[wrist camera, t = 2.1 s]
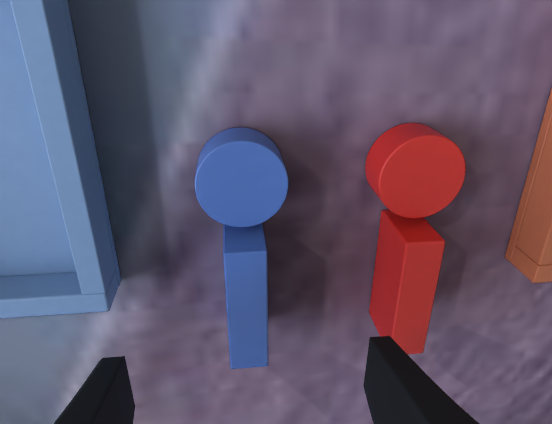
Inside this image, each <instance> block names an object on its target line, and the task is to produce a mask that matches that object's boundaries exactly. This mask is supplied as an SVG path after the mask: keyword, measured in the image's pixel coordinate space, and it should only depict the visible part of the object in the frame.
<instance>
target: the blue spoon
mask: <svg viewBox="0 0 552 424" xmlns="http://www.w3.org/2000/svg"><path fill="white" fill-rule="evenodd" d="M288 185H289V182H288V174H287V171H286V168H285V165H284V162H283V160H282V157H281V154H280V152H279V150H278V148H277V146H276V145H275V144H274V142H273V141H272V140H271V139H270V138H268V137H267V136H266V135H264V134H263V133H261V132H259V131H257V130H253V129H250V128H240V127H239V128H231V129H227V130H224V131H222V132H220V133H218V134H216V135H215V136H213V137H212V138H211V139H210V140H209V141H208V142H207V143H206V144H205V145H204V147H203V149H202V150H201V153H200V155H199V159H198V164H197V170H196V176H195V192H196V196H197V199H198V201H199V203H200V205H201V207H202V208H203V209H204V211H205V212H206V213H207V214H208V215H209V216H210V217H212V218H213V219H215V220H216V221H218V222H220V223H222V224H223V257H224V273H225V289H226V305H227V321H228V337H229V353H230V368H231V369H239V368H251V367H263V366H268V281H267V248H266V242H265V236H264V230H263V224H262V223H263V222H265V221H266V220H268V219H269V218H271V217H272V216H273V215H275V214H276V212H277V211H278V210H279V209H280V208H281V206H282V205H283V203H284V201H285V199H286V196H287V192H288Z"/></svg>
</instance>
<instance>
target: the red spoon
mask: <svg viewBox="0 0 552 424" xmlns="http://www.w3.org/2000/svg"><path fill="white" fill-rule="evenodd" d="M365 172H366V178H367V181H368V183H369V185H370V187H371V188H372V189H373V191H374V192H375V193H376V195H377V196H378V197H379V198H380V200H381V201H382V202H383V203H384V205H385V206H386V207H387V208H388V209H389V210H382V212H381V219H380V228H379V236H378V244H377V252H376V260H375V269H374V277H373V285H372V293H371V301H370V310H369V313H370V315H371V318H372V320H373V322H374V324H375V326H376V328H377V330H378V333H379V335H380V336H390V337H391V338H392V339H393V340H394V341H395V342H396V343H397V344H398V345H399V346H400V347H401V348H402V349H403V350H404V351H405V353H406V354H417V353H423V351H424V346H425V341H426V336H427V331H428V326H429V321H430V316H431V311H432V306H433V301H434V297H435V292H436V287H437V282H438V277H439V272H440V267H441V262H442V257H443V252H444V247H445V240H444V239H443V238H442V237H441V236H440V235H439V234H438V233H437V232H436V231H435V229H434V228H433V227H432V226H431V225H430V224H429V223H428V222H427V221H426V220H425V219H424V217H427V216H430V215H433V214H435V213H437V212H439V211H440V210H442V209H444V208H445V207H446V206H447V205H448V204H450V203H451V202H452V201H453V199H454V198H455V197H456V196H457V194H458V193H459V191H460V189H461V187H462V185H463V182H464V179H465V173H466V165H465V159H464V156H463V154H462V152H461V150H460V149H459V147H458V146H457V145H456V144H455V143H454V142H453V141H451V140H450V139H448V138H447V137H445V136H443V135H442V134H440V133H438V132H437V131H435V130H434V129H432V128H430V127H428V126H426V125H423V124H419V123H405V124H401V125H398V126H395V127H393V128H391V129H389V130H388V131H386V132H385V133H383V134H382V135H381V136H380V137H379V138H378V139H377V140H376V141H375V143H374V144H373V145H372V147H371V149H370V151H369V153H368V156H367V159H366V165H365Z"/></svg>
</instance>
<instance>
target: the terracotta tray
mask: <svg viewBox="0 0 552 424" xmlns="http://www.w3.org/2000/svg"><path fill="white" fill-rule="evenodd" d="M505 258H506V259H507V260H508V261H509V262H511V263H512V264H513V265H514V266H515V267H516V268H517V269H518V270H519V271H520V272H522V273H523V274H524V275H525V276H526V277H527V278H528V279H529V280H530V281H531V282H533V283H542V282H552V88H551V92H550V95H549V99H548V103H547V106H546V110H545V113H544V117H543V121H542V124H541V128H540V131H539V135H538V139H537V142H536V146H535V149H534V153H533V157H532V160H531V164H530V167H529V171H528V175H527V178H526V182H525V185H524V189H523V193H522V196H521V200H520V203H519V207H518V211H517V214H516V218H515V221H514V225H513V229H512V232H511V236H510V239H509V243H508V247H507V250H506V254H505Z"/></svg>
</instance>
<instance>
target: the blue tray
mask: <svg viewBox="0 0 552 424" xmlns="http://www.w3.org/2000/svg"><path fill="white" fill-rule="evenodd" d="M120 282H121V277H120V271H119V266H118V261H117V256H116V251H115V245H114V240H113V235H112V230H111V225H110V219H109V214H108V209H107V204H106V199H105V193H104V188H103V183H102V178H101V172H100V167H99V162H98V157H97V152H96V146H95V141H94V136H93V131H92V126H91V120H90V115H89V110H88V105H87V100H86V94H85V89H84V84H83V79H82V74H81V68H80V63H79V58H78V53H77V47H76V42H75V37H74V32H73V27H72V21H71V16H70V11H69V6H68V1H67V0H0V319H1V318H16V317H31V316H45V315H60V314H75V313H90V312H105V311H109V310H110V308H111V305H112V302H113V300H114V297H115V294H116V292H117V289H118V286H119V285H120Z"/></svg>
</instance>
